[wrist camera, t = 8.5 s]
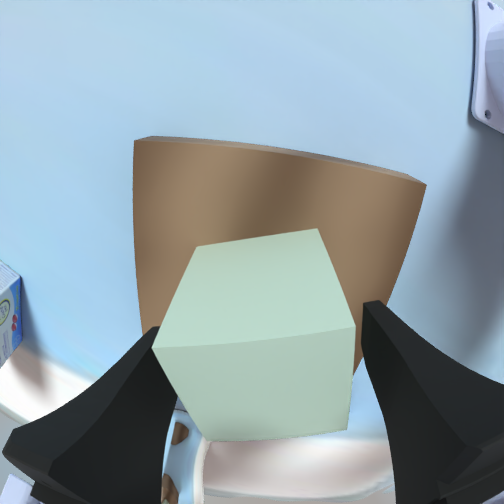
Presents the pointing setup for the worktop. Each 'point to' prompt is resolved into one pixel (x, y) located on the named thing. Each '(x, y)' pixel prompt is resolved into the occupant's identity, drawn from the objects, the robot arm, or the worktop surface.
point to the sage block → (260, 339)
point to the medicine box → (9, 312)
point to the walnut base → (266, 213)
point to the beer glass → (183, 461)
